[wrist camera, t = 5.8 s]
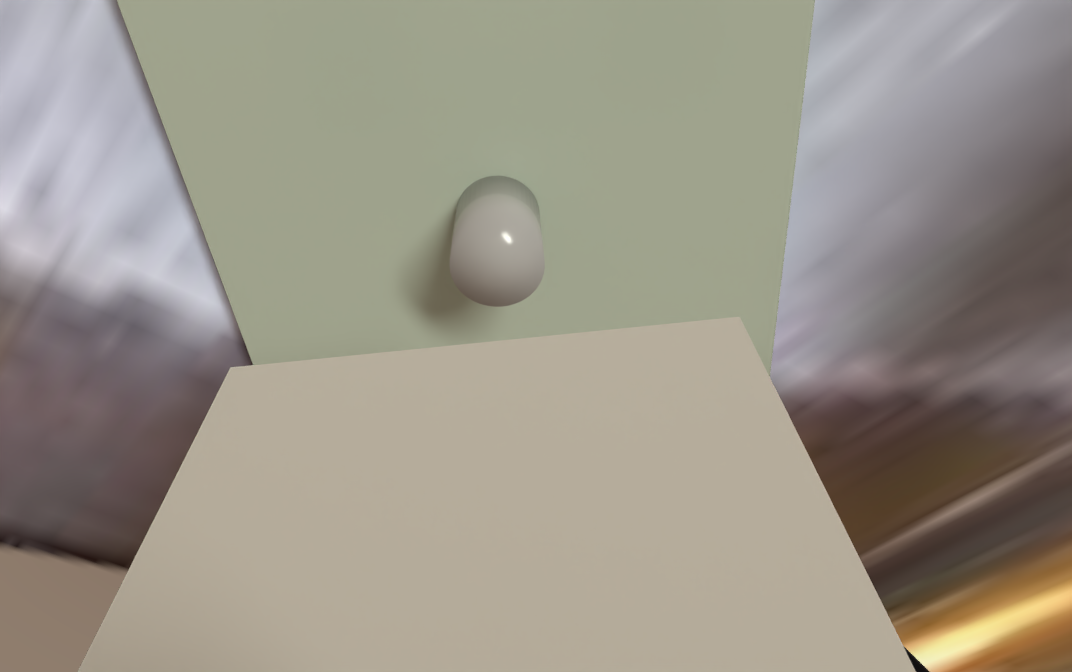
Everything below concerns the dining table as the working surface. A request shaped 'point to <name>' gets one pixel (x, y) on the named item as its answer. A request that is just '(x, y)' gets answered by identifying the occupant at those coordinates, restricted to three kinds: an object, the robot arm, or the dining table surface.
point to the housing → (502, 519)
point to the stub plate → (482, 163)
